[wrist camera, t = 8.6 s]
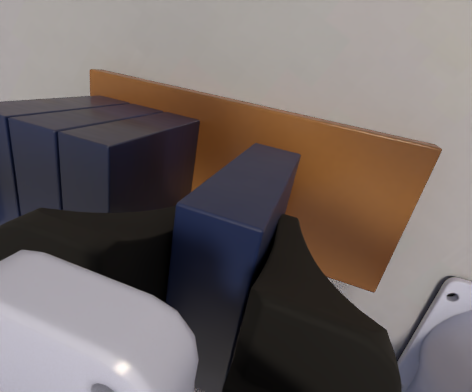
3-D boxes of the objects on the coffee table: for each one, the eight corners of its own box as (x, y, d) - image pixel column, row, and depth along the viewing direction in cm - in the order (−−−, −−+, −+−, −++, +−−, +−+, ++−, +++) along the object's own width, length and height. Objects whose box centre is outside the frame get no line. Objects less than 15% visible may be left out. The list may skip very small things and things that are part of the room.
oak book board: (372, 282, 17) (404, 465, 9) (102, 193, 21) (-47, 265, 13) (436, 144, 14) (577, 236, 6) (101, 69, 17) (-101, 60, 9)
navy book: (271, 262, 14) (221, 400, 8) (232, 249, 15) (157, 371, 9) (301, 154, 12) (264, 231, 6) (254, 142, 13) (174, 202, 6)
